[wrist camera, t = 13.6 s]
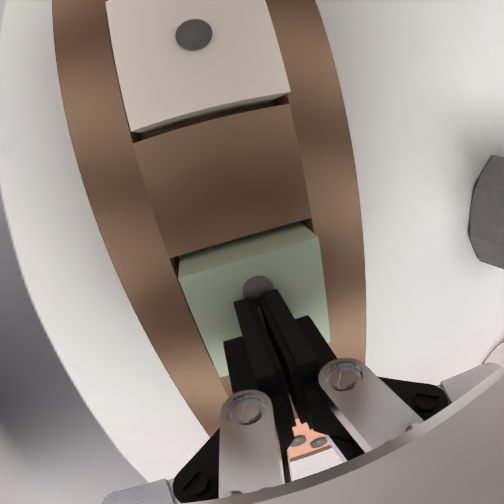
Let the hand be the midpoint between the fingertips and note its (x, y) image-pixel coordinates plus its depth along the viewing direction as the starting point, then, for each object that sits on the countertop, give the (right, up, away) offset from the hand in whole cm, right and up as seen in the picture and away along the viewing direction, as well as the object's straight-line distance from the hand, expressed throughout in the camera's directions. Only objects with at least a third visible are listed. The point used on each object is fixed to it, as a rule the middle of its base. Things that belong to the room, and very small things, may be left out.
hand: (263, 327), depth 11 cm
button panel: (-1, +2, +4) cm, 5 cm away
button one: (-3, +10, -1) cm, 11 cm away
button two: (-1, +2, +3) cm, 3 cm away
